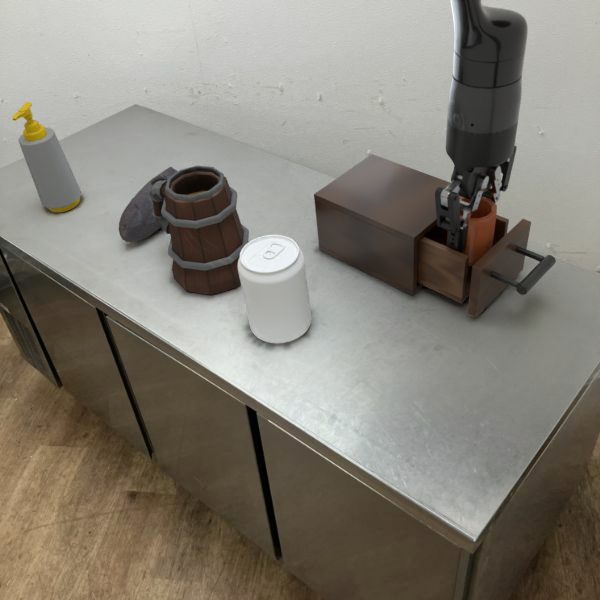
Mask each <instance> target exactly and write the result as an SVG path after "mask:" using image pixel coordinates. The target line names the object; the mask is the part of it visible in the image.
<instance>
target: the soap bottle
mask: <svg viewBox="0 0 600 600" xmlns="http://www.w3.org/2000/svg"><path fill="white" fill-rule="evenodd" d="M32 106H33V103H32V102H31V101H26V102H25V103H23V104H22V105H21V107H20V108H19V109H18V110H17V111H16V112H15V113H14V114H13V116H12V117H11V119H12V121H17V120H18V119H20V118H23V119H24V120H25V121H26V122H24V124H23V128H24V129H23V131H22V134H21V135H20V136H19V138H18V139H17V140H18V144H19V147H20V149H21V152H22V154H23V157H24V161H25V162H26V166H27V168H28V171H29V173H30V176H31V178H32V181H33V184H34V186H35V189H36V192H37V194H38V197H39V201H40V203H41V205H42V206H44V207H45V208H47V210H49V211H50V212H52V213H64V212H67V211H70V210H72V209H74V208H76V207H77V206H78V205H79V204H80V201H81V196H82V190H81V188H80V185H79V183H78V181H77V178H76V176H75V174H74V172H73V170H72V167H71V165H70V163H69V161H68V158H67V157H66V153H65V151H64V150H63V147H62V145H61V143H60V141H59V139H58V136H57V134H56V132H55V130H54V129H52V128H50V127H46V126H45V125H43V124H40V123H39V120H36V119H33V117H34V115H33V113H32V110H31V107H32Z"/></svg>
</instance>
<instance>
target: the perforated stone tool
mask: <svg viewBox="0 0 600 600" xmlns="http://www.w3.org/2000/svg"><path fill="white" fill-rule="evenodd" d="M178 171H179V170H177V169H175V168H174V167H173V166H170V167H168V168H166V169H164V170H163V171H162V172H160V173H158V174H157V175H156V176H154V177H153V178H151V179H149V181H147V183H146V184H145V185H143V186H142V187H141V188H140V189H139V191H137V193H136V194H135V195H134V196H133V197H132V198H131V200H130V201H129V202H128V204H127V205H126V206H125V208H124V210H123V211H122V213H121V215H120V218H119V222H118V232H119V233H118V234H119V236H120V238H121V239H122V241H124V242H126V243H136V242H139V241H143V240H145V239H147V238H148V237H150V236H151V235H153V234H154V233H155V232H157V231H158V230H160V229H162V228H161V227H160V226H159V225H158V224H157V222H156V221H155V219H154V217H153V215H152V214H153V211H154V207H153V201H152V199H151V198H150V197H149V194H150V191H151V187H152V185H153V184H154V183H156V182H158V181H160V180H162V181H164V180H166V181H167V180H168V178H169V177H171V176H172V175H174V174H175V173H176V172H178Z"/></svg>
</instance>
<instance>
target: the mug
mask: <svg viewBox="0 0 600 600" xmlns="http://www.w3.org/2000/svg"><path fill="white" fill-rule="evenodd" d="M177 171H178V172H176V173H175V174H174V175H172V176H171V177H169V178H168V180H167V181H166V180H164V181H162V180H160V181H158V182H156V183H154V184H153V185H152V187H151V191H150V194H149V197H150V198H151V199H152V201H153V207H154V211H153V214H152V215H153V217H154V219H155V221H156V222H157V224H158V225H159V226H160V227H161V228H160V229H161V230H163V232H164V233H165V234H166V235H170V240H169V244H168V248H167V255H168V256H169V257H170V258H171V259H172V265H171V272H172V275H173V278H174V280H175V281H176V282H177V283H178V284H179V285H180V286H181V287H182V288H183V289H184V290H185V291H186V292H189V293H195V294H196V293H197V294H204V295H211V296H213V295H214V294H219V293H222V292H225V291H229V290H232V289H235V288H238V287H239V286H241V282H240V277H239V272H238V260H239V258H240V252H241V250H242V248H243V247H244V246H245V245H246V244H247V243H248V242H250V241H249V236H250V231H249V229H248V228H247V227H246V226H245V225H243V224H242V222H241V219H240V217H239V213H238V210H237V203H238V191H236V190H235V189H234V188H233V187H231V186H230V185H229V182H228V179H227V177H226V176H225V174H224V173H223V172H221V171H220V170H219V169H217V168H216V167H214V166H209V165H194V166H190V167H185V168H182V169H179V170H177Z"/></svg>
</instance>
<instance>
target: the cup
mask: <svg viewBox="0 0 600 600" xmlns="http://www.w3.org/2000/svg"><path fill="white" fill-rule="evenodd" d="M459 198H460V199H461V200H462V201H464V202H467V203H469V204H470V203H471V200H469V199H466V198H464V197H461V196H460V197H459ZM495 203H496V202H495ZM495 203H494V202H493V201H492V200H491V199H489V198H487V197H484V196H481V199H480V202H479V205H478V209H477V211H475V212H472V214H471V218H470V221H469V224H468V233H467V243H466V250H465V251H463V252H462V253H463V254H465V255H467V256H469V263H468V266H473V265H474V264H475V263H476V262H477V261H478V260H479V259H481V258H482V257H483V256H484V255H485V254H486V253H487V252H488V251H489V250H490V249H491V248H492V245H493V238H494V230H495V222H496V215H498V214H497V213H498V204H497V203H496V204H495ZM463 214H464V212H463V210H461V209H460V218H461V219H462V217H463ZM447 244H448V234H447ZM447 247H448V245H447Z"/></svg>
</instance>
